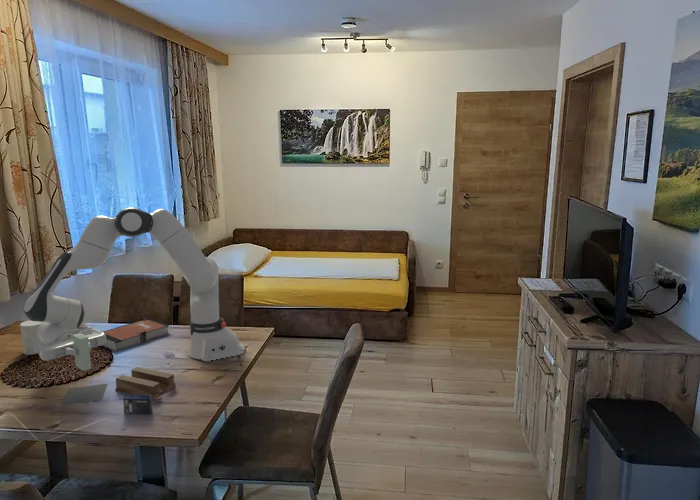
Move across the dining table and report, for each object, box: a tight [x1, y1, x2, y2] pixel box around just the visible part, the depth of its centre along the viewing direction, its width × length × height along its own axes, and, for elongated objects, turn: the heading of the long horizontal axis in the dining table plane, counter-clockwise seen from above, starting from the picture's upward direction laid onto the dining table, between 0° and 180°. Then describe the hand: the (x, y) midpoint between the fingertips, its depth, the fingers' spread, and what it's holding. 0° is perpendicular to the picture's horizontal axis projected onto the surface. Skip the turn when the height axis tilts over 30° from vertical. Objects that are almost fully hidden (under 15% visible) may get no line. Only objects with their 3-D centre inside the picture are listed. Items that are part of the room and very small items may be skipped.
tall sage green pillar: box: [73, 333, 92, 372], centre depth 160 cm, size 2×6×11 cm, turn 51°
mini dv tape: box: [122, 393, 153, 415], centre depth 152 cm, size 8×2×6 cm, turn 90°
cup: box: [20, 319, 44, 356], centre depth 198 cm, size 8×8×12 cm
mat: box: [60, 383, 108, 406], centre depth 163 cm, size 12×12×1 cm
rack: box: [114, 366, 176, 401], centre depth 168 cm, size 11×16×5 cm
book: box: [98, 316, 170, 352], centre depth 214 cm, size 26×18×5 cm
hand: (83, 351), depth 160 cm, fingers closed on tall sage green pillar, 2 cm apart
